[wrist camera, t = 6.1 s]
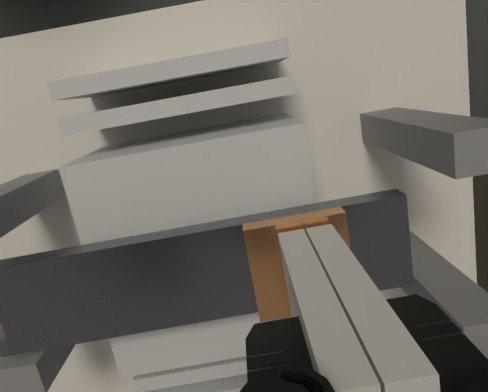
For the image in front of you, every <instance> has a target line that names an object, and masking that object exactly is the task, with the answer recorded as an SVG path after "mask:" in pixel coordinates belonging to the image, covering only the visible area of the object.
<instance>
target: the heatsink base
mask: <svg viewBox="0 0 488 392" xmlns="http://www.w3.org/2000/svg"><path fill="white" fill-rule="evenodd" d="M483 174H488V119H487V118H479V117H471V116H470V104H469V79H468V54H467V30H466V5H465V0H204V1H198V2H193V3H188V4H182V5H177V6H171V7H166V8H161V9H155V10H150V11H145V12H139V13H134V14H129V15H123V16H118V17H113V18H107V19H102V20H97V21H91V22H86V23H81V24H75V25H70V26H65V27H59V28H54V29H49V30H43V31H38V32H33V33H27V34H22V35H17V36H11V37H6V38H1V39H0V260H1V259H7V258H12V257H18V256H23V255H29V254H35V253H40V252H46V251H51V250H57V249H62V248H68V247H74V246H79V245H85V244H90V243H96V242H102V241H107V240H113V239H118V238H124V237H129V236H135V235H141V234H146V233H152V232H157V231H163V230H168V229H174V228H180V227H185V226H191V225H196V224H202V223H207V222H213V221H219V220H224V219H230V218H235V217H241V216H246V215H252V214H258V213H263V212H269V211H274V210H280V209H286V208H291V207H297V206H302V205H308V204H313V203H319V202H325V201H330V200H336V199H341V198H347V197H352V196H358V195H364V194H369V193H375V192H380V191H386V190H391V189H398V190H400V191H401V192H403V193H404V194H406V195H407V206H408V218H409V230H410V242H411V255H412V267H413V279H414V285H410V286H405V287H399V288H393V289H387V290H382V291H380V292H381V294H382V295H383V296H384V298H385V299H392V298H397V297H403V296H409V295H415V294H417V295H419V296H421V297H423V298H425V299H427V300H429V301H431V302H433V303H435V304H437V305H438V306H439V307H440V309H441V310H442V311H443V312H444V313H445V314H446V315H447V316H448V317H449V318H450V321H451V322H454V324H455V325H456V326H457V327H458V328H459V329H460V330H461V332H462V334H465V335H466V336H467V338H468V339H469V340H470V341H471V342H472V343H473V344H474V345H475V346H476V347H477V348H478V349H479V350H480V352H481V353H482V354H483V355H484V356H485V357H486V358H487V359H488V293H487V292H486V291H485V290H484V289H482V288H481V287H480V286H479V285H477V276H476V251H475V227H474V202H473V177H472V176H478V175H483ZM287 318H291V317H287ZM281 319H285V318H281ZM276 320H279V319H276ZM270 321H274V320H270ZM264 322H268V321H264ZM256 323H262V322H260V319H259V313H258V312H257V313H251V314H245V315H239V316H234V317H228V318H222V319H217V320H211V321H205V322H200V323H194V324H188V325H183V326H177V327H171V328H165V329H160V330H154V331H148V332H143V333H137V334H131V335H126V336H120V337H114V338H109V339H103V340H97V341H92V342H86V343H80V344H74V345H69V346H63V347H57V348H52V349H46V350H40V351H35V352H29V353H23V354H18V355H12V356H6V357H1V358H0V392H240V390H241V389H242V388H243V387H244V385H245V384H246V383H247V362H246V359H247V357H246V341H245V339H246V337H247V335H248V334H249V332H250V330H251V328H252V327H253V325H254V324H256Z"/></svg>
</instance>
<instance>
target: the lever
mask: <svg viewBox="0 0 488 392" xmlns="http://www.w3.org/2000/svg"><path fill="white" fill-rule="evenodd" d="M327 224H332V225H333V226H334V228H335V229H336V231H337V232H338V233H339V235H340V236H341V238H342V239H343V240H344V242H345V243H346V245H347V246H348V247H349V249H350V250H351V252H352V253H353V254H354V256H355V257H356V259H357V260H358V261H359V263H360V264H361V266H362V267H363V268H364V270H365V271H366V273H367V274H368V275H369V277H370V278H371V280H372V281H373V282H374V284H375V285H376V287H377V288H378V289H379V291H382V290H387V289H393V288H399V287H405V286H410V285H414V279H413V267H412V255H411V242H410V230H409V218H408V206H407V195H406V194H404V193H403V192H401V191H400V190H398V189H391V190H386V191H380V192H375V193H369V194H364V195H358V196H352V197H347V198H341V199H336V200H330V201H325V202H319V203H313V204H308V205H302V206H297V207H291V208H286V209H280V210H274V211H269V212H263V213H258V214H252V215H246V216H241V217H235V218H230V219H224V220H219V221H213V222H207V223H202V224H196V225H191V226H185V227H180V228H174V229H168V230H163V231H157V232H152V233H146V234H141V235H135V236H129V237H124V238H118V239H113V240H107V241H102V242H96V243H90V244H85V245H79V246H74V247H68V248H62V249H57V250H51V251H46V252H40V253H35V254H29V255H23V256H18V257H12V258H7V259H1V260H0V358H1V357H6V356H12V355H18V354H23V353H29V352H35V351H40V350H46V349H52V348H57V347H63V346H69V345H74V344H80V343H86V342H92V341H97V340H103V339H109V338H114V337H120V336H126V335H131V334H137V333H143V332H148V331H154V330H160V329H165V328H171V327H177V326H183V325H188V324H194V323H200V322H205V321H211V320H217V319H222V318H228V317H234V316H239V315H245V314H251V313H257V312H258V313H259V319H260V322H264V321H270V320H276V319H281V318H287V317H291V311H290V305H289V299H288V293H287V287H286V281H285V275H284V269H283V263H282V257H281V251H280V245H279V239H278V233H282V232H287V231H293V230H299V229H304V231H305V233H306V228H310V227H316V226H321V225H327Z"/></svg>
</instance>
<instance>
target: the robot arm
mask: <svg viewBox="0 0 488 392" xmlns="http://www.w3.org/2000/svg"><path fill="white" fill-rule="evenodd" d="M278 239H279V245H280V251H281V257H282V263H283V269H284V275H285V281H286V287H287V293H288V299H289V305H290V311H291V318H285V319H279V320H274V321H268V322H262V323H256V324H254V325H253V327H252V328H251V330H250V332H249V334H248V335H247V337H246V339H245V341H246V357H247V359H246V362H247V383H246V384H245V385H244V387H243V388H242V389H241V390H240V392H488V359H487V358H486V357H485V356H484V355H483V354H482V353H481V352H480V350H479V349H478V348H477V347H476V346H475V345H474V344H473V343H472V342H471V341H470V340H469V339H468V338H467V336H466V335H465V334H462V332H461V330H460V329H459V328H458V327H457V326H456V325H455V324H454V322H451V321H450V318H449V317H448V316H447V315H446V314H445V313H444V312H443V311H442V310H441V309H440V307H439V306H438V305H437V304H435V303H433V302H431V301H429V300H427V299H425V298H423V297H421V296H419V295H417V294H415V295H409V296H403V297H397V298H392V299H385V298H384V296H383V295H382V294H381V292H380V291H379V289H378V288H377V287H376V285H375V284H374V282H373V281H372V280H371V278H370V277H369V275H368V274H367V273H366V271H365V270H364V268H363V267H362V266H361V264H360V263H359V261H358V260H357V259H356V257H355V256H354V254H353V253H352V252H351V250H350V249H349V247H348V246H347V245H346V243H345V242H344V240H343V239H342V238H341V236H340V235H339V233H338V232H337V231H336V229H335V228H334V226H333V225H332V224H327V225H321V226H316V227H310V228H306V233H305V231H304V229H299V230H293V231H287V232H282V233H278Z"/></svg>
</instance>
